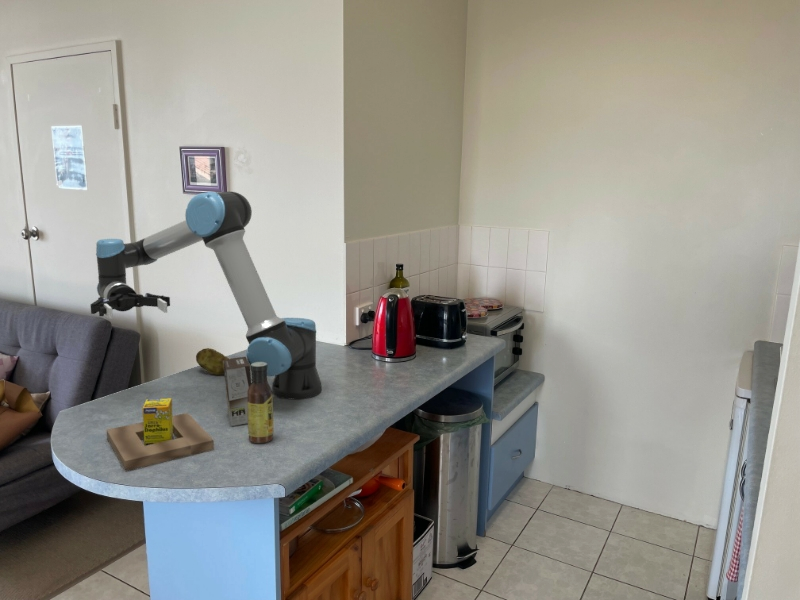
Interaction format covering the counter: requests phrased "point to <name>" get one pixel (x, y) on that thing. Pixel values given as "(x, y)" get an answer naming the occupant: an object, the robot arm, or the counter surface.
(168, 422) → the supplement box
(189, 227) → the robot arm
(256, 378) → the sauce bottle
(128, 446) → the socket board
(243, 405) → the coffee box
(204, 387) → the counter surface
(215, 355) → the potato
